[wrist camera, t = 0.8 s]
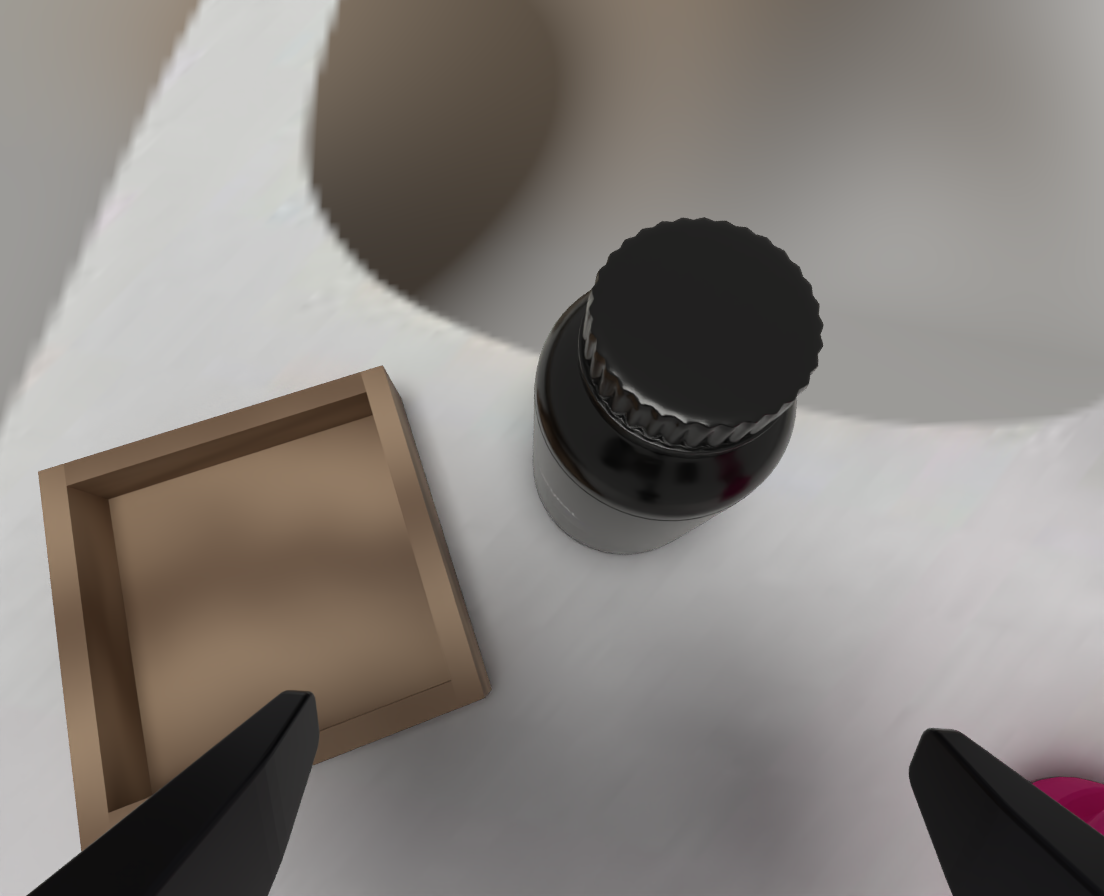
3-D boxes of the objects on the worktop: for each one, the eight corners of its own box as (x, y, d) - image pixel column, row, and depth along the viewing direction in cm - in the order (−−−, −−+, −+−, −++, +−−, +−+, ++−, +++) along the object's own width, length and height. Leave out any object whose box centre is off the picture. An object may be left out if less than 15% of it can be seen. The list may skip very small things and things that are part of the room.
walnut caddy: (491, 689, 21) (484, 698, 18) (150, 822, 19) (81, 855, 16) (400, 397, 24) (382, 365, 21) (101, 492, 22) (38, 471, 19)
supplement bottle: (500, 504, 23) (465, 369, 11) (583, 362, 25) (624, 123, 13) (662, 592, 22) (803, 545, 10) (734, 439, 24) (921, 254, 12)
